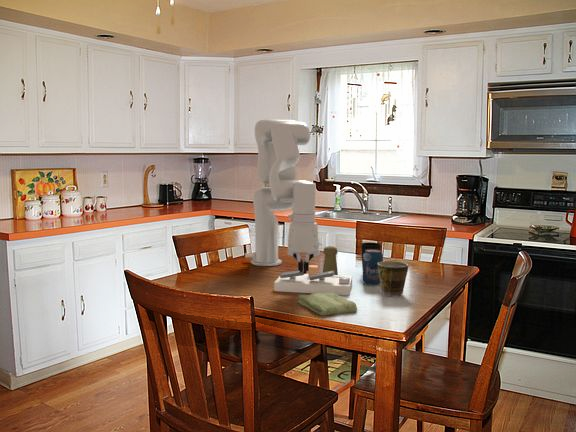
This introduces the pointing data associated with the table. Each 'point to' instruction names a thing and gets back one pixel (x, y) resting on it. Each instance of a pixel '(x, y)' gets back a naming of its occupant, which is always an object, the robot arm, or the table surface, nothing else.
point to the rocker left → (291, 274)
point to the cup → (369, 246)
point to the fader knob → (313, 269)
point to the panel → (315, 284)
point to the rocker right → (322, 275)
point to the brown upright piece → (330, 260)
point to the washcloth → (327, 303)
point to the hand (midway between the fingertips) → (303, 272)
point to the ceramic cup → (392, 277)
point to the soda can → (371, 266)
